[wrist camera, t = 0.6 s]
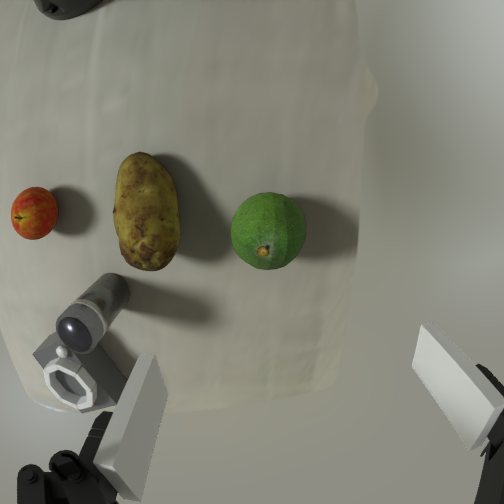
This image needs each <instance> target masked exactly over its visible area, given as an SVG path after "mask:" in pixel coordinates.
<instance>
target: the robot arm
mask: <svg viewBox="0 0 504 504" xmlns="http://www.w3.org/2000/svg"><path fill="white" fill-rule="evenodd" d="M101 1H102V0H34V2H35V4H36V6H37V8H38V9H39V11H40V12H41V13H43V14H44V15H46V16H47V17H49V18H51V19H54V20H65V19H69V18H73V17H75V16H78V15H80V14H82V13H84V12H86V11H88V10H89V9H91V8H93V7H94V6H96V5H97V4H98V3H100V2H101ZM412 367H413V369H414V370H415V372H416V373H417V375H418V376H419V377H420V379H421V380H422V382H423V383H424V385H425V386H426V388H427V389H428V390H429V392H430V393H431V395H432V396H433V397H434V399H435V401H436V402H437V404H438V405H439V407H440V408H441V410H442V411H443V413H444V414H445V415H446V417H447V419H448V420H449V422H450V423H451V425H452V426H453V428H454V429H455V431H456V432H457V434H458V435H459V437H460V439H461V440H462V442H463V444H464V445H465V447H466V448H467V450H468V451H471V450H473V449H475V448H477V447H479V446H481V445H482V443H483V442H484V440H485V438H486V437H488V439H489V440H490V441H489V443H488V444H487V446H486V447H485V449H484V450H483V451H482V453H481V455H480V456H481V457H482V456H483V455H484V453H485V452H486V455H485V461H484V466H483V470H482V475H481V480H480V484H479V487H478V492H477V495H476V499H475V502H474V504H504V386H503V385H502V384H501V383H500V382H498V380H497V378H496V377H494V376H493V374H492V373H491V372H490V371H489V370H488V369H487V368H486V367H484V366H482V365H480V364H477V365H474V364H473V362H472V361H471V360H469V358H468V357H467V356H466V355H465V354H464V353H463V352H462V351H461V350H460V349H459V348H458V347H457V346H456V345H455V344H454V342H453V341H452V340H451V339H450V338H449V337H448V336H447V335H446V334H445V333H444V332H443V331H441V329H440V328H439V327H438V326H437V325H436V324H435V323H434V322H429V323H425V324H421V328H420V333H419V337H418V342H417V346H416V351H415V355H414V359H413V363H412ZM167 397H168V393H167V390H166V387H165V384H164V381H163V378H162V375H161V372H160V368H159V365H158V362H157V359H156V355H155V353H140V355H139V357H138V359H137V361H136V364H135V366H134V368H133V370H132V372H131V374H130V377H129V379H128V381H127V383H126V385H125V388H124V390H123V392H122V394H121V396H120V399H119V401H118V403H117V406H116V408H115V410H114V412H107V411H103V412H102V413H101V414H100V415H99V416H98V417H97V418H96V419H95V421H94V423H93V425H92V429H91V430H90V432H89V434H88V437H87V438H86V441H85V443H84V445H83V447H82V449H81V452H80V454H79V456H78V455H77V454H76V453H74V452H73V451H69V450H63V451H59V452H57V453H56V454H54V456H52V458H51V459H50V462H49V469H50V470H51V471H52V472H43V470H42V469H41V468H40V467H38V466H37V465H33V464H29V465H26V466H24V467H23V468H21V470H20V471H19V472H18V477H17V504H119V503H118V502H117V501H116V496H117V493H119V495H120V496H121V497H122V498H123V499H128V500H133V501H140V502H141V500H142V495H143V491H144V487H145V483H146V478H147V474H148V470H149V466H150V462H151V458H152V453H153V450H154V446H155V442H156V438H157V434H158V431H159V427H160V423H161V419H162V416H163V412H164V408H165V405H166V401H167Z"/></svg>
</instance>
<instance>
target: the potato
mask: <svg viewBox="0 0 504 504" xmlns="http://www.w3.org/2000/svg"><path fill="white" fill-rule="evenodd" d="M113 214H114V225H115V229H116V232H117V235H118V237H119V245H120V250H121V254H122V255H123V257H124V259H125V260H126V262H127V263H128V264H130V265H131V266H133V267H135V268H137V269H140V270H145V271H157V270H160V269H162V268H164V267H166V266H167V265H168V264H169V263H170V261H171V260H172V258H173V257H174V255H175V253H176V251H177V248H178V246H179V242H180V235H181V234H180V216H179V210H178V198H177V192H176V189H175V186H174V183H173V181H172V178H171V176H170V174H169V173H168V171H167V170H166V169H165V168H164V166H162V165H161V164H160V163H159V162H158V161H157V160H156V159H155V158H153V157H152V156H151V155H149V154H147V153H144V152H137V153H134V154H131V155H129V156H128V157H127V158H126V159H125V160H124V161H123V162H122V164H121V166H120V168H119V171H118V176H117V182H116V193H115V203H114V210H113Z"/></svg>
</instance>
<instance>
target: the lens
mask: <svg viewBox="0 0 504 504" xmlns="http://www.w3.org/2000/svg"><path fill="white" fill-rule="evenodd" d="M129 297H130V290H129V287H128V284H127V283H126V281H125V280H124V279H123V278H122V277H121V276H119V275H117V274H114V273H106V274H104V275H102V276H101V277H100V278H99V279H98V280H97V281H96V282H95V283H93V284H92V285H91V286H90V287H89V288H88V289H87V290H86V291H85V292H84V293H83V294H82V295H81V296H80V297H79V298H78V299H77V300H76V301H74V302H73V303H72V304H71V305H70V306H69V307H68V308H67V309H66V310H65V311H64V312H63V313H62V314H61V315H60V316H59V317H58V319H57V321H56V330H57V334H58V336H59V338H60V340H61V341H62V342H63V344H64V345H65V346H66V347H68V348H69V349H70V350H72V351H74V352H76V353H79V354H88V353H90V352H91V351H92V350H93V349H94V348H95V346H96V345H97V343H98V342H99V340H100V339H101V338H102V337H103V336H104V334H105V333H106V331H107V329H108V328H109V326H110V325H111V324H112V322H113V321H114V319H115V318H116V317H117V315H118V314H119V312H120V311H121V310H122V308H123V307H124V306H125V304H126V303H127V302H128V300H129Z"/></svg>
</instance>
